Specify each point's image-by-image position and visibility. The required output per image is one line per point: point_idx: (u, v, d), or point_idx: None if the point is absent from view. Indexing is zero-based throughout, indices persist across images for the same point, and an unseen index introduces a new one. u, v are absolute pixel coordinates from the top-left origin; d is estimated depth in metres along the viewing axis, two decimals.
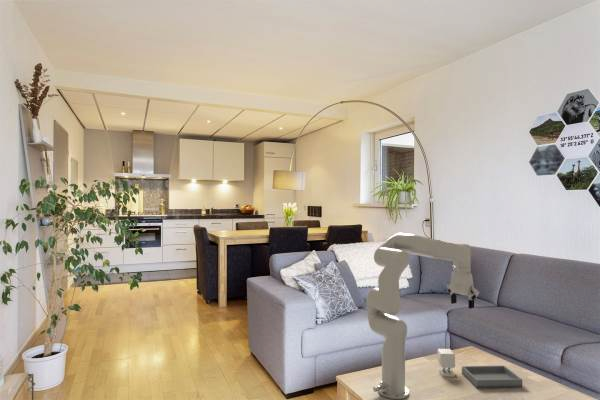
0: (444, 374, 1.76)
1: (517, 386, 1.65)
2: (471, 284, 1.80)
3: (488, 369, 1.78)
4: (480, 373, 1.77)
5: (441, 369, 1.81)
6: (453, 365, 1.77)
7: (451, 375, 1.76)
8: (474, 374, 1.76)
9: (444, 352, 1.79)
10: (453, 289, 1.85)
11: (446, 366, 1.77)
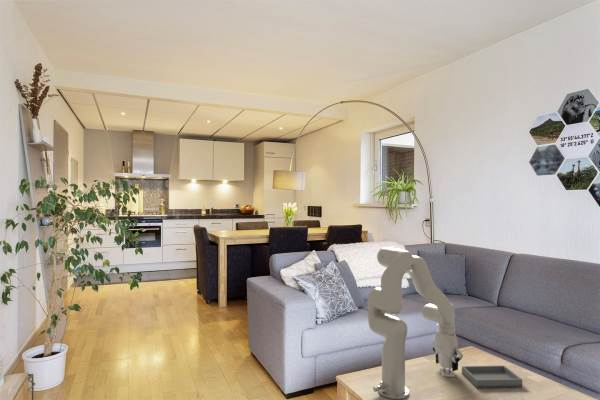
0: (444, 374, 1.76)
1: (517, 386, 1.65)
2: (455, 345, 1.76)
3: (488, 369, 1.78)
4: (480, 373, 1.77)
5: (441, 369, 1.80)
6: None
7: (451, 375, 1.76)
8: (474, 374, 1.76)
9: None
10: (437, 349, 1.81)
11: (446, 366, 1.77)
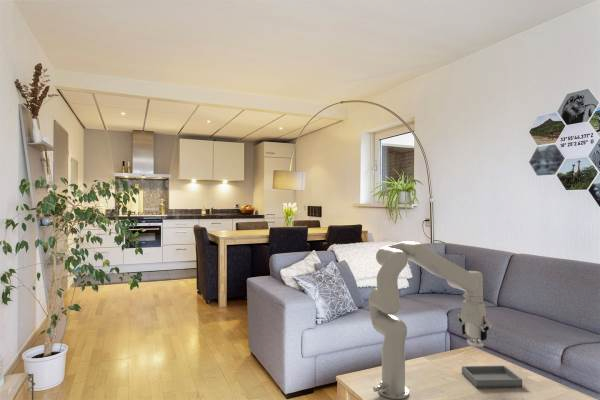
0: (473, 344, 1.71)
1: (517, 386, 1.65)
2: (484, 314, 1.71)
3: (488, 369, 1.78)
4: (480, 373, 1.77)
5: (469, 340, 1.76)
6: None
7: (480, 345, 1.71)
8: (474, 374, 1.76)
9: None
10: (464, 319, 1.76)
11: (475, 336, 1.72)
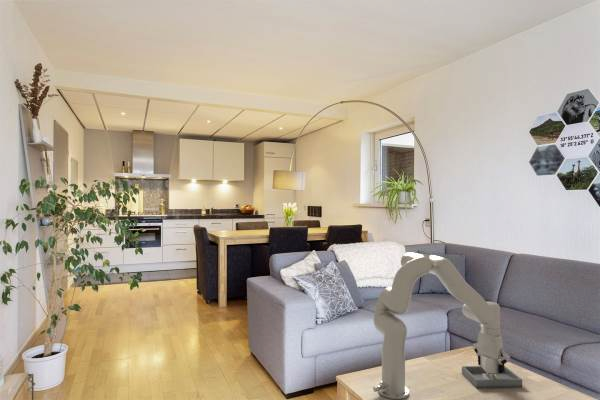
0: None
1: (517, 386, 1.65)
2: (501, 347, 1.68)
3: None
4: (480, 373, 1.77)
5: (485, 374, 1.73)
6: None
7: None
8: (474, 374, 1.76)
9: (488, 357, 1.71)
10: (481, 350, 1.73)
11: (491, 371, 1.69)
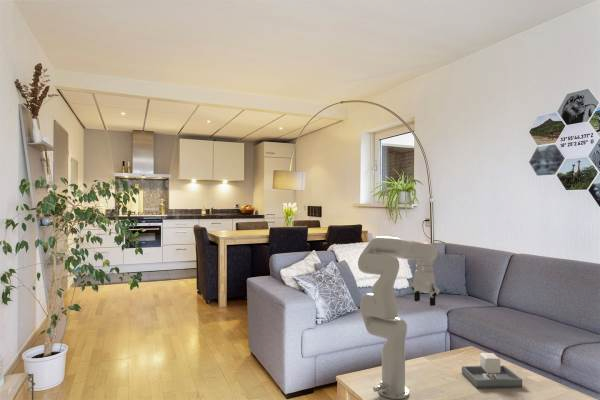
0: None
1: (517, 386, 1.65)
2: (432, 282, 1.84)
3: None
4: (480, 373, 1.77)
5: (485, 374, 1.73)
6: (498, 370, 1.69)
7: None
8: (474, 374, 1.76)
9: (488, 357, 1.71)
10: (416, 287, 1.89)
11: (491, 371, 1.69)
